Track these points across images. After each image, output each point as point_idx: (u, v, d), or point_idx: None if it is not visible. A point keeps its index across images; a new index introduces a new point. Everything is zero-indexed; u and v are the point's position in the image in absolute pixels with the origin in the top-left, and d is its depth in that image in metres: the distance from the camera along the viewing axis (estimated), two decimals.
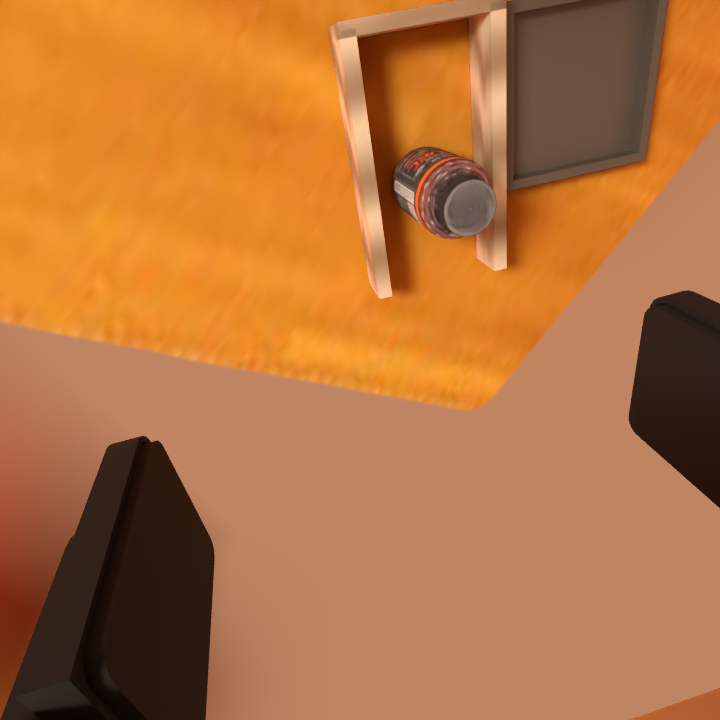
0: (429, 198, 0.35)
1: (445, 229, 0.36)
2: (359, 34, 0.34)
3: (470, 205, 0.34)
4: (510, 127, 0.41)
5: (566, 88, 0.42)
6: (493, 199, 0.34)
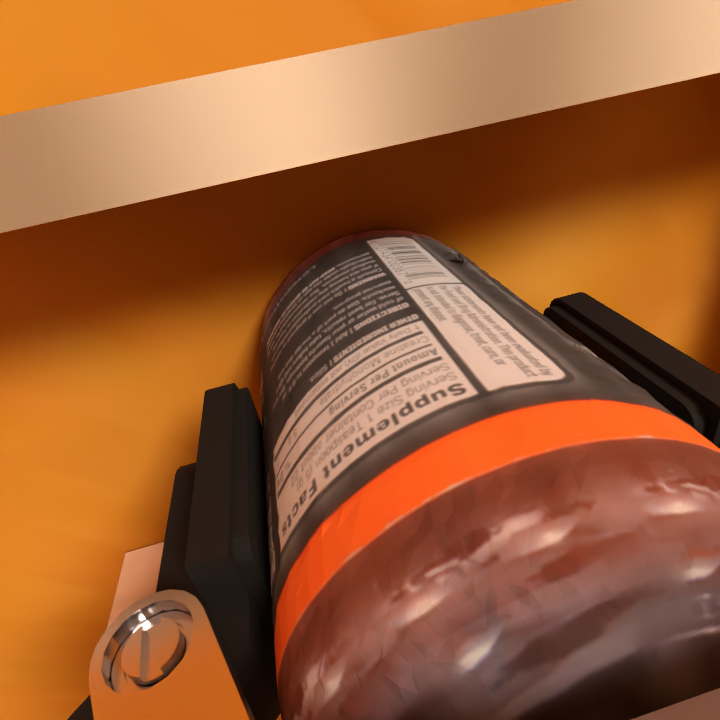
0: (704, 573, 0.04)
1: None
2: None
3: None
4: None
5: None
6: None
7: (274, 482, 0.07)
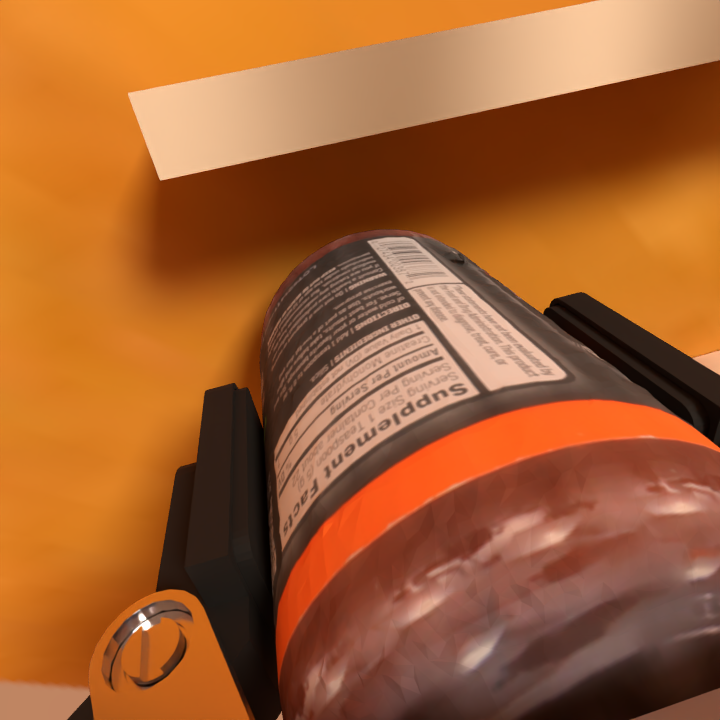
0: (706, 573, 0.04)
1: None
2: None
3: None
4: None
5: None
6: None
7: (275, 482, 0.07)
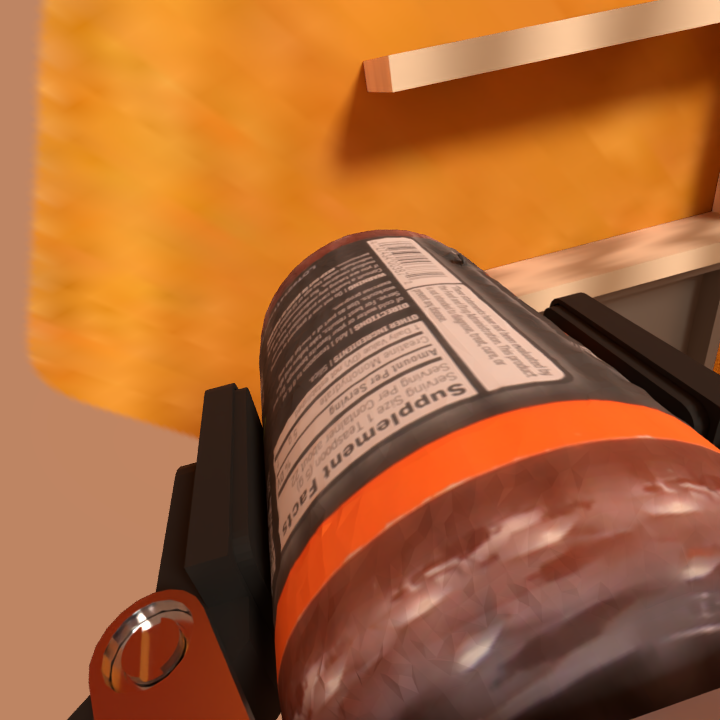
0: (703, 574, 0.04)
1: None
2: None
3: None
4: (607, 295, 0.28)
5: None
6: None
7: (274, 482, 0.07)
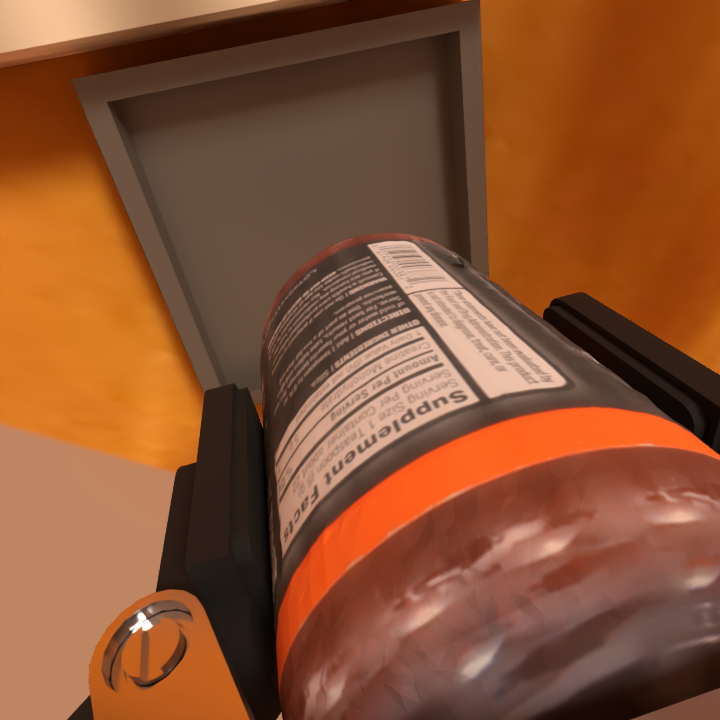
0: (705, 583, 0.04)
1: None
2: None
3: None
4: (236, 65, 0.16)
5: (321, 217, 0.21)
6: None
7: (275, 487, 0.07)
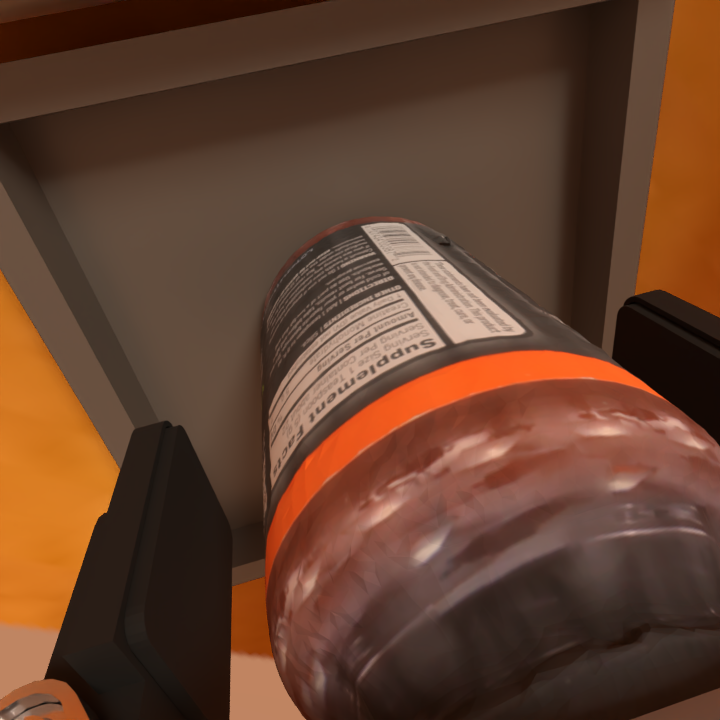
0: (627, 486, 0.04)
1: (383, 665, 0.04)
2: None
3: None
4: (226, 57, 0.08)
5: None
6: None
7: (268, 436, 0.07)
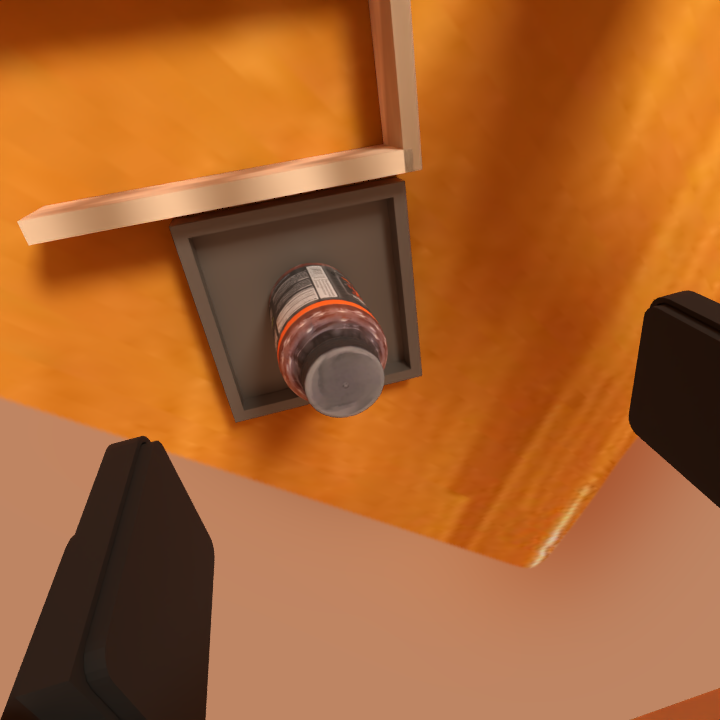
0: (344, 320, 0.24)
1: (301, 351, 0.24)
2: None
3: (351, 383, 0.23)
4: (263, 217, 0.28)
5: None
6: (357, 411, 0.24)
7: (277, 325, 0.27)
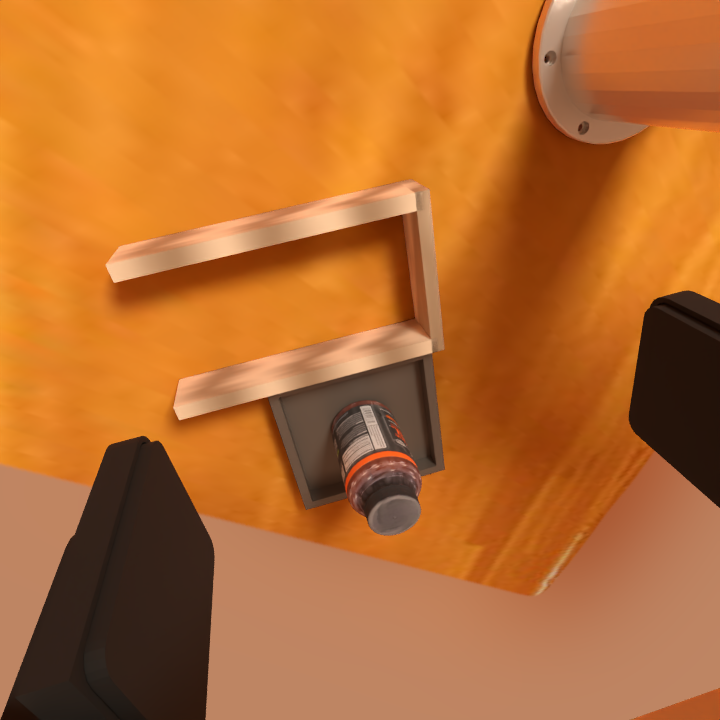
0: (393, 470, 0.35)
1: (364, 491, 0.35)
2: (418, 214, 0.32)
3: (398, 516, 0.35)
4: (330, 380, 0.39)
5: None
6: (402, 531, 0.35)
7: (343, 462, 0.38)
